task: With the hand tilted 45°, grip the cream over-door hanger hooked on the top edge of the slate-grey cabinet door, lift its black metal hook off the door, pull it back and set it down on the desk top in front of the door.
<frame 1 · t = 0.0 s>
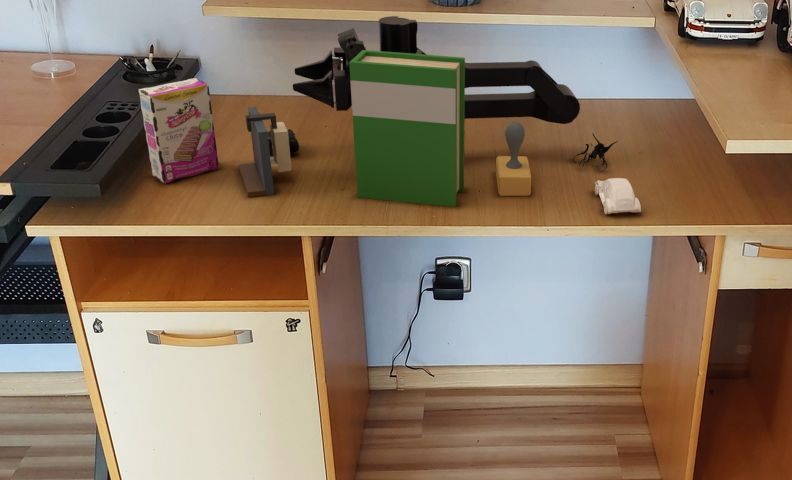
hand: (293, 79, 162), 17 cm above the table, tool horizontal, fingers open, 9 cm apart
white toy vehicle: (615, 204, 160), on the table
creature: (592, 165, 175), on the table
rubber stamp: (512, 185, 166), on the table
candy bar box: (187, 174, 166), on the table
door: (264, 180, 164), on the table
tape measure: (284, 152, 176), on the table
hardback book: (411, 194, 161), on the table
hanger: (282, 166, 164), point 2 cm above the table, touching door
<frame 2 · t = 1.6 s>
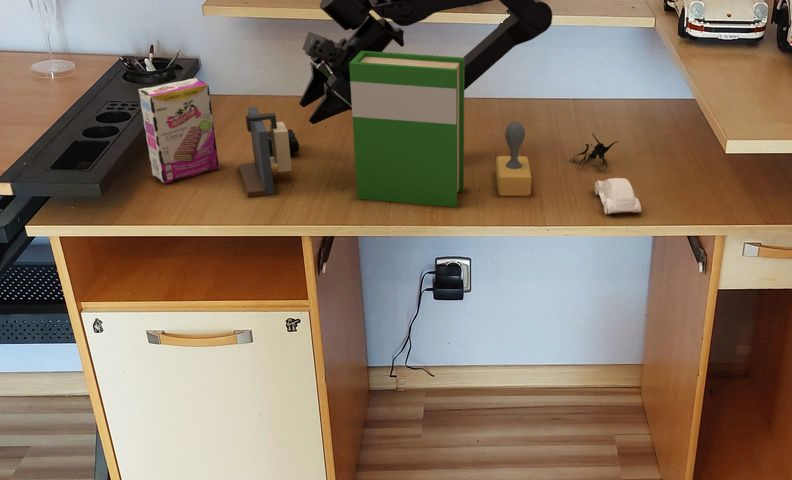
hand: (305, 113, 161), 12 cm above the table, tool tilted 45°, fingers open, 9 cm apart
nothing on the table moved.
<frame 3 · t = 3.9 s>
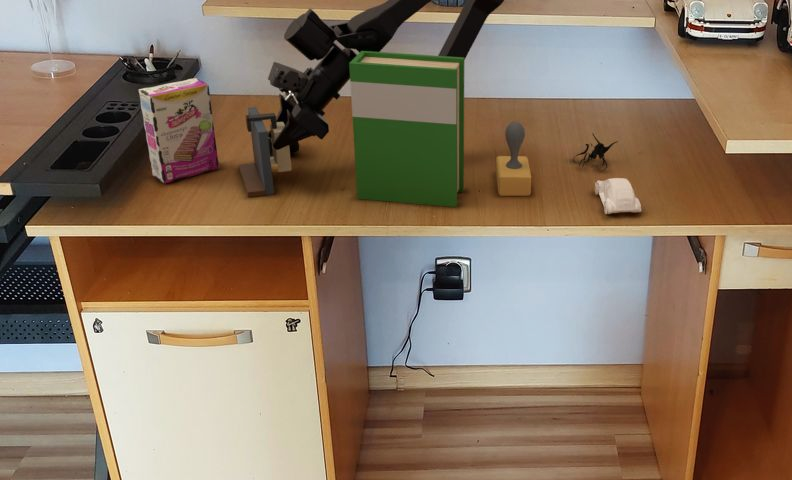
hand: (272, 142, 161), 7 cm above the table, tool tilted 45°, fingers closed on hanger, 5 cm apart
hanger: (282, 166, 164), point 2 cm above the table, touching door, gripper
everything else where it was.
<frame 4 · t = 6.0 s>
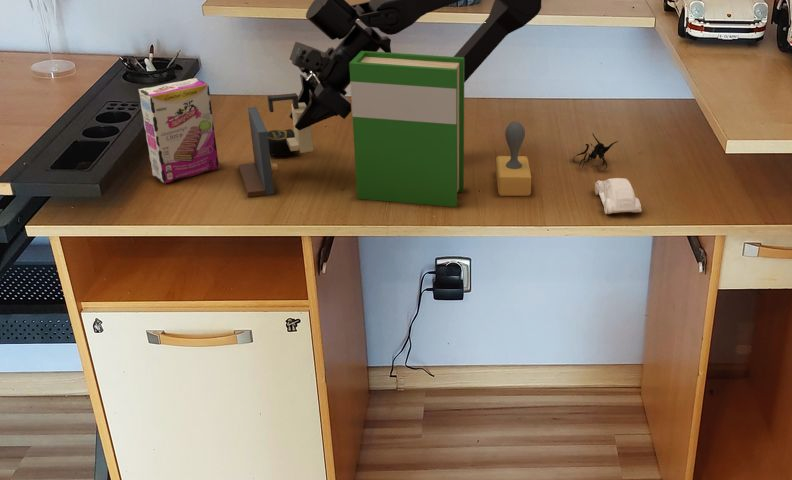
hand: (294, 123, 161), 10 cm above the table, tool tilted 45°, fingers closed on hanger, 5 cm apart
hanger: (304, 147, 164), point 6 cm above the table, touching gripper
everything else where it was.
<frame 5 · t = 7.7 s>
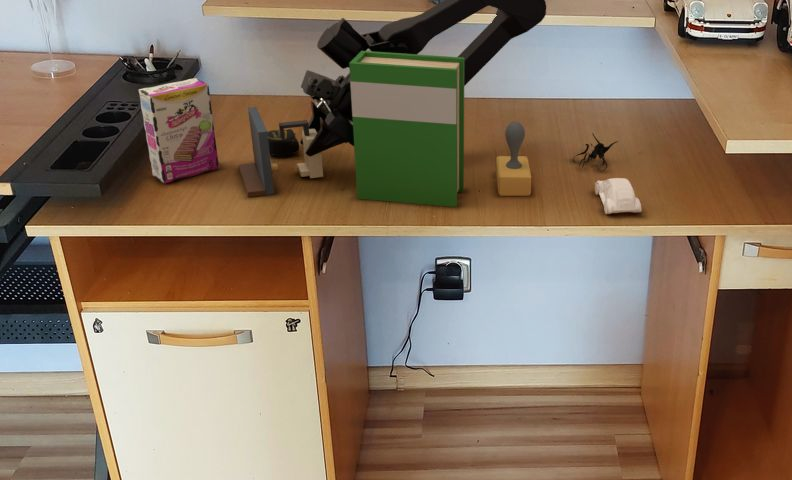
hand: (304, 149, 164), 5 cm above the table, tool tilted 45°, fingers closed on hanger, 5 cm apart
hanger: (314, 172, 167), on the table, touching gripper
everything else where it was.
when the fingers open (5 cm above the table, at t = 8.2 s): hanger stays where it is, on the table.
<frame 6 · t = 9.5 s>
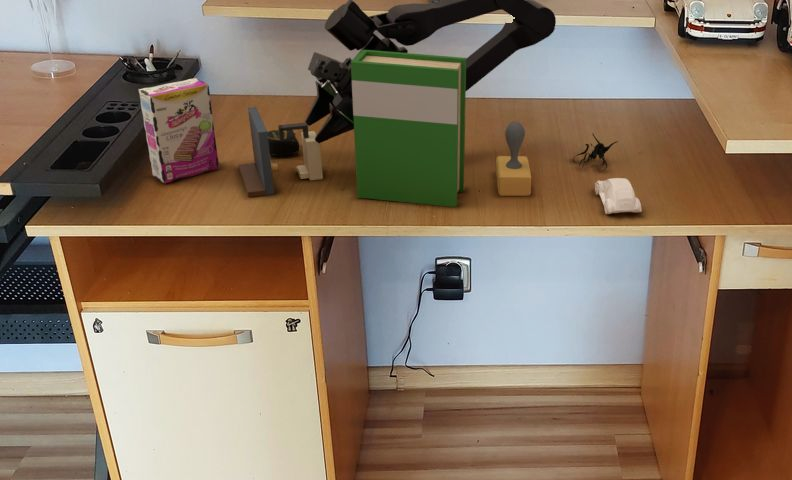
hand: (311, 132, 163), 8 cm above the table, tool tilted 45°, fingers open, 9 cm apart
hardback book: (411, 194, 161), on the table, touching gripper
hanger: (313, 174, 167), on the table
everything else where it was.
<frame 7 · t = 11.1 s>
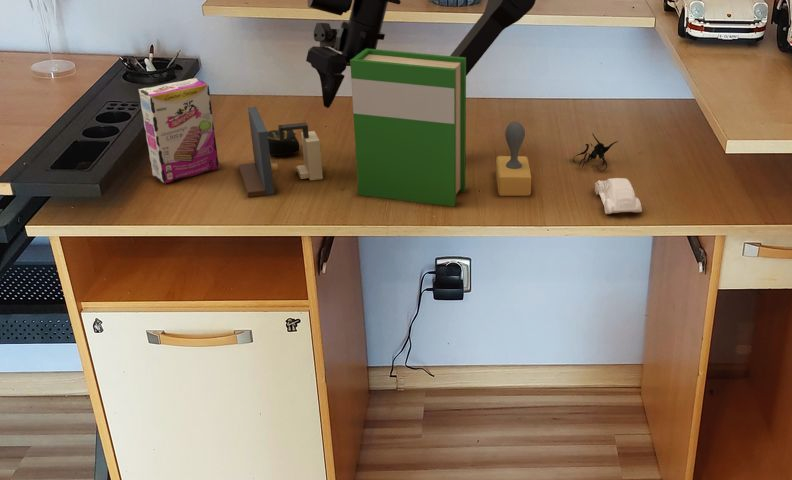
hand: (344, 106, 164), 12 cm above the table, tool tilted 15°, fingers open, 9 cm apart
hardback book: (412, 193, 162), on the table
everything else where it was.
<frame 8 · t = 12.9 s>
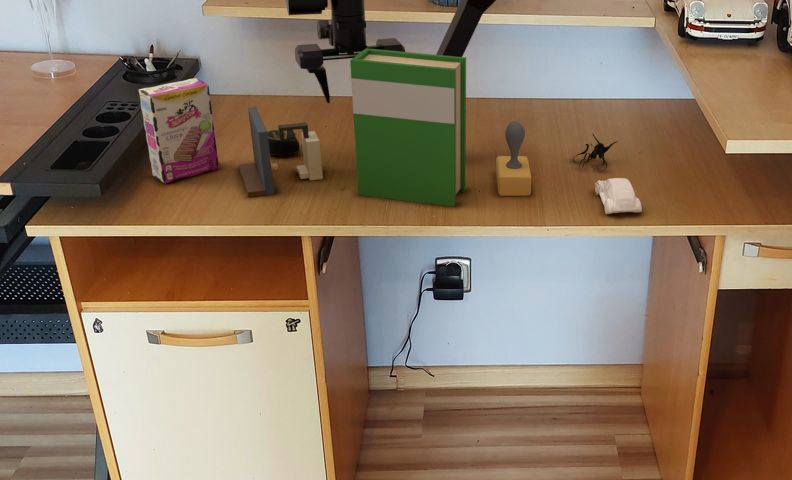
hand: (353, 100, 164), 13 cm above the table, tool pointing down, fingers open, 9 cm apart
nothing on the table moved.
at the end: hanger touching table; hanger inside the target area (0.6 cm from its centre), on the table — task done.
